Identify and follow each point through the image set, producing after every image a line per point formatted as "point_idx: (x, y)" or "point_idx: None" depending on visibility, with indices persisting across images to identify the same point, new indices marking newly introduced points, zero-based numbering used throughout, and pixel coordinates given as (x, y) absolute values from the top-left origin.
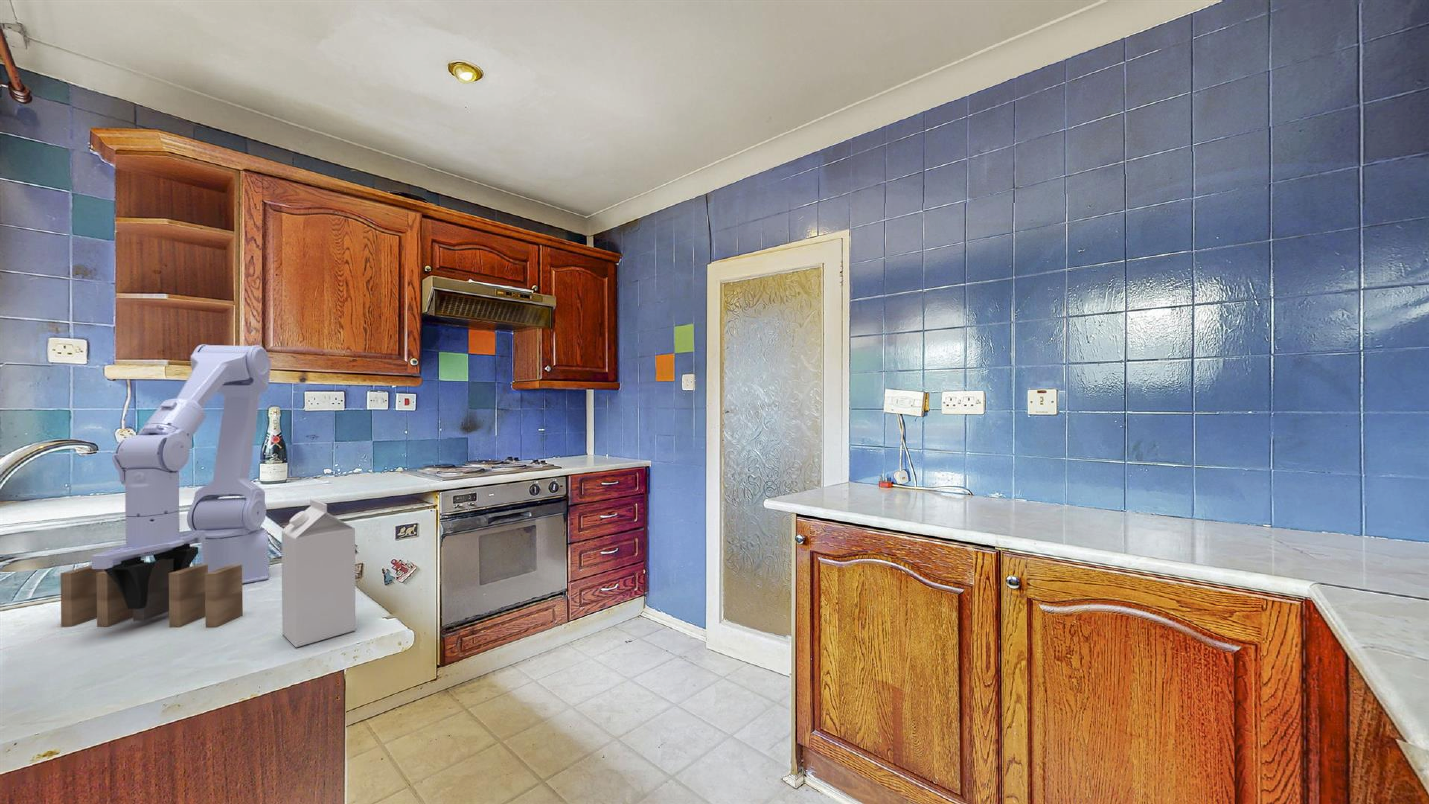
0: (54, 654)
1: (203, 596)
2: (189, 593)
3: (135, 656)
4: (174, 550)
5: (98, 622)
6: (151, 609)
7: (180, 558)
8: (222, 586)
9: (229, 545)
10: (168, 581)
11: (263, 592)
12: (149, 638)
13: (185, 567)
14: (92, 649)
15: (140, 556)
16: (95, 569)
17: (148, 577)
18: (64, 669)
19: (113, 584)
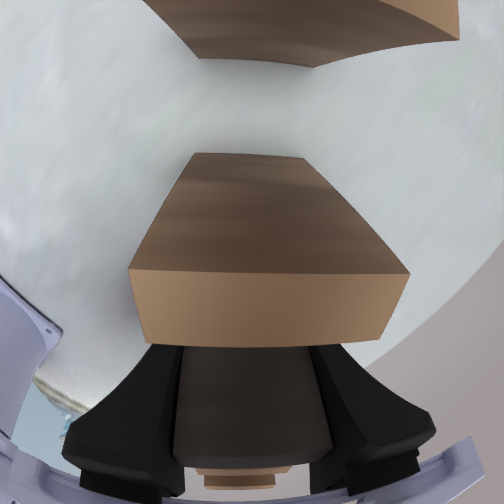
0: (407, 303)
1: (205, 175)
2: (288, 192)
3: (468, 128)
4: (161, 491)
5: None
6: None
7: (162, 442)
8: None
9: None
10: (206, 363)
11: (10, 169)
12: (378, 180)
13: (141, 385)
14: (409, 259)
15: (334, 497)
16: (224, 480)
17: (344, 389)
18: (480, 222)
19: None
